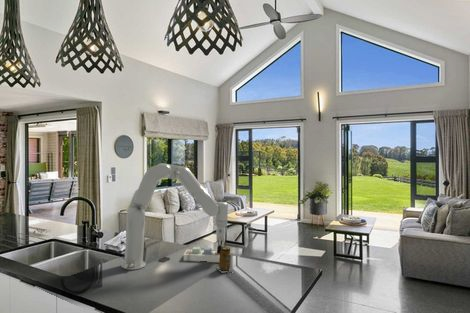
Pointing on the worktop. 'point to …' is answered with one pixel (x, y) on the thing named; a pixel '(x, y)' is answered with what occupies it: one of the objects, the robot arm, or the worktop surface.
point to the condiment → (224, 259)
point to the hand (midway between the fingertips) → (219, 252)
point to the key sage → (196, 250)
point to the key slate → (208, 251)
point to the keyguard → (201, 256)
